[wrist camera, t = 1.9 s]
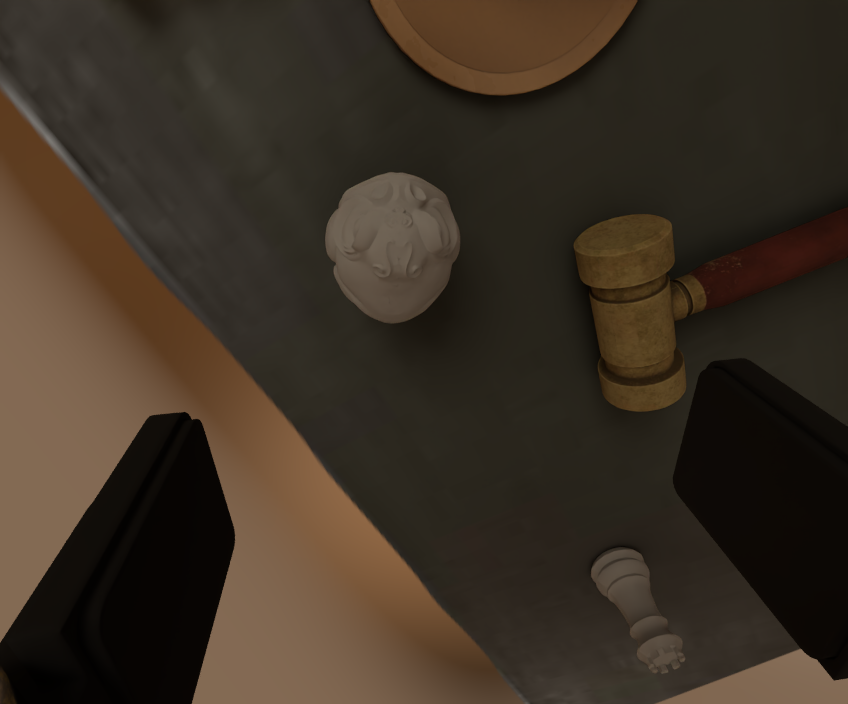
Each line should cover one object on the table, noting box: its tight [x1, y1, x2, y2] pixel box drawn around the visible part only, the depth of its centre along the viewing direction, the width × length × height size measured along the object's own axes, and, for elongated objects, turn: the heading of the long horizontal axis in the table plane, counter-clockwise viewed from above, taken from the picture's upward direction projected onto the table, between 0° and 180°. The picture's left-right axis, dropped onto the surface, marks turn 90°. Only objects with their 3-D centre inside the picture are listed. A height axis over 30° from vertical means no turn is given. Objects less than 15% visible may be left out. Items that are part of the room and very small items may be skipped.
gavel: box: [574, 207, 848, 411], centre depth 27 cm, size 21×5×10 cm
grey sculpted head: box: [325, 172, 460, 324], centre depth 22 cm, size 6×7×7 cm
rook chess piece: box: [591, 547, 685, 674], centre depth 37 cm, size 4×4×8 cm
